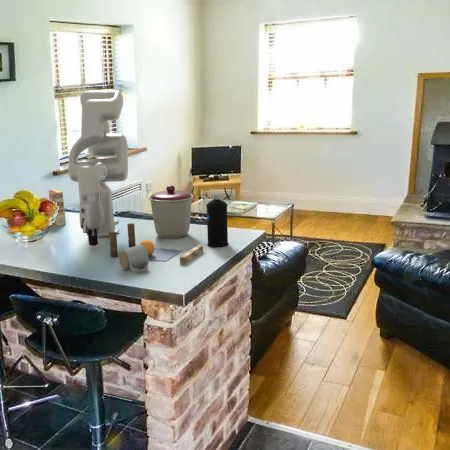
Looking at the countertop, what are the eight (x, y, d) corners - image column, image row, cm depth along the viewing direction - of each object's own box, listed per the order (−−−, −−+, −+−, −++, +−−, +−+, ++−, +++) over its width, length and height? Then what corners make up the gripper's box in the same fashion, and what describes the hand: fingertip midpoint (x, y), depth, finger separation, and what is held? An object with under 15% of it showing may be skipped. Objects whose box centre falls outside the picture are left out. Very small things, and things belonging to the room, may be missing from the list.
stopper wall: (198, 251, 208) (197, 244, 207) (203, 251, 207) (202, 245, 207) (180, 264, 193) (179, 257, 193) (185, 264, 193) (185, 257, 192)
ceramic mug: (117, 268, 191) (116, 246, 189) (139, 263, 195) (138, 242, 193) (132, 276, 182) (131, 254, 180) (154, 271, 187) (153, 249, 185)
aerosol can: (231, 243, 218) (230, 192, 213) (223, 248, 210) (221, 196, 206) (212, 241, 221) (211, 191, 216) (203, 246, 214) (201, 195, 209)
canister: (184, 242, 220) (182, 190, 215) (143, 239, 225) (140, 188, 220) (201, 231, 236) (199, 182, 231) (162, 229, 242) (159, 180, 237)
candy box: (66, 224, 253) (63, 191, 250) (57, 226, 251) (53, 192, 248) (60, 221, 261) (57, 188, 257) (51, 222, 258) (48, 190, 255)
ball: (153, 235, 203) (160, 249, 203) (142, 241, 207) (150, 255, 207) (142, 240, 199) (150, 255, 199) (132, 246, 202) (139, 260, 202)
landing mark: (148, 247, 214) (148, 247, 214) (182, 250, 209) (182, 250, 209) (130, 258, 201) (130, 257, 201) (165, 261, 196) (165, 261, 196)
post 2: (130, 245, 218) (129, 223, 215) (136, 246, 217) (135, 223, 214) (127, 247, 215) (126, 224, 213) (133, 247, 214) (132, 225, 212)
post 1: (113, 255, 206) (111, 231, 203) (119, 255, 205) (117, 231, 203) (109, 257, 203) (107, 233, 201) (115, 257, 202) (113, 233, 200)
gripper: (86, 202, 202) (90, 251, 206) (109, 194, 215) (112, 240, 220) (69, 201, 204) (73, 249, 209) (92, 193, 218) (96, 239, 222)
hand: (93, 244), depth 214 cm, fingers closed
